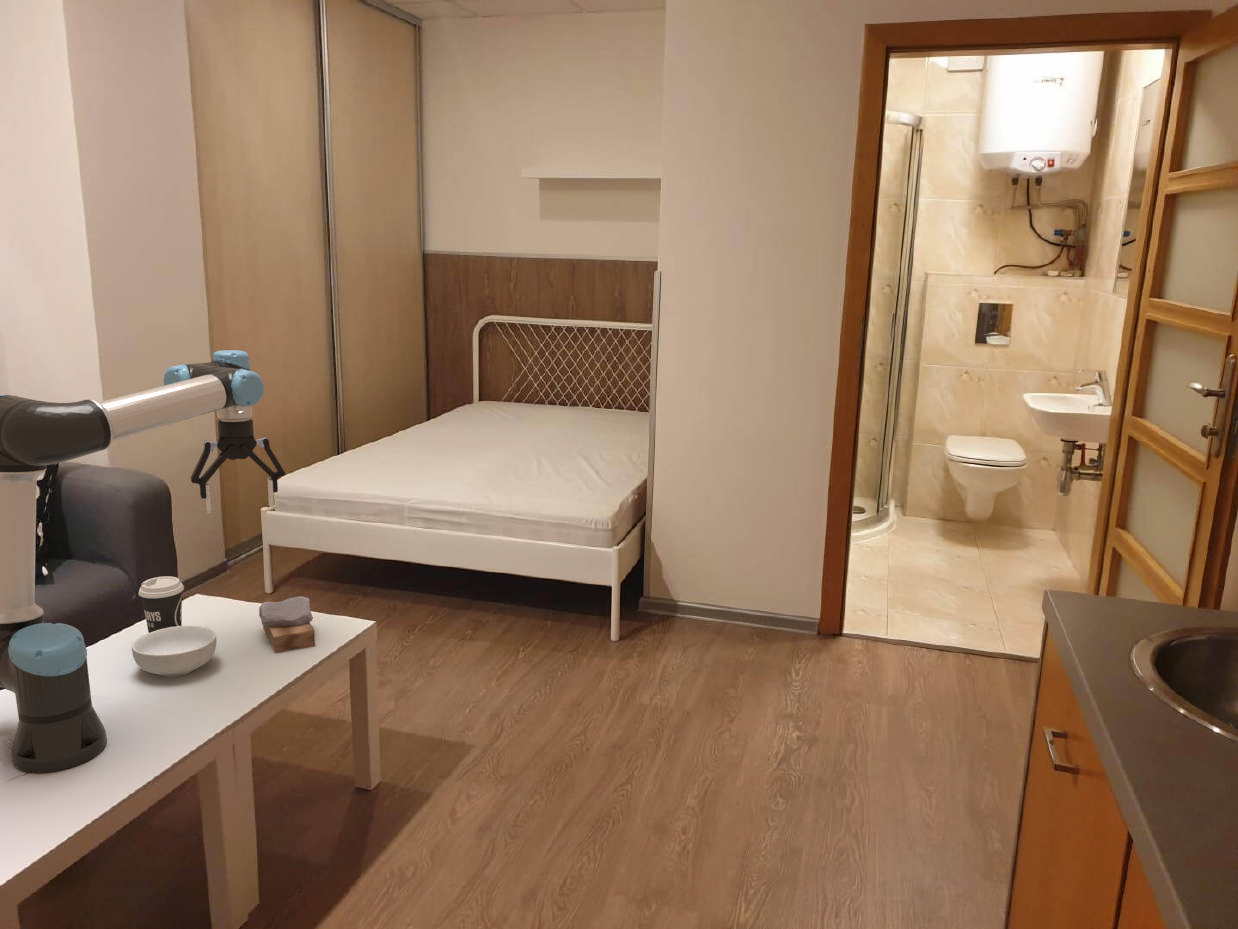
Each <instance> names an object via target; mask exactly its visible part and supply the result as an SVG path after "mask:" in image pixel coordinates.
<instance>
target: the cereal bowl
mask: <svg viewBox="0 0 1238 929" xmlns="http://www.w3.org/2000/svg"><path fill="white" fill-rule="evenodd" d="M216 649H217V634H216V632H215V631H214V630H213V629H211V628H209V627H206V626H201V625H199V626H198V625H182V626H176V627H169V628H164V629H160V630H156V631H153V632H150V633H149V632H148V633H146V634H143V635H142V636H139V637H138V638H137V639H135V640H134V641H133V643H132V644H131V653H132V657H133V660H134V662H135V664H136V665H137V666H138V667H139V668H140V669H141V670H143V671H144V672H145V671H146V672H147V673H150V674H153V675H154V674H156V675H160V676H161V677H167V678H170V677H171V678H172V677H179V676H183V675H187V674H190V673H191V672H193V671H194V670H196V669H197V668H200V667H202V666H203V665H205V664H206V663H207V662H209V661H210V659H211V658H212V657H213V656H214V654H215V652H216Z"/></svg>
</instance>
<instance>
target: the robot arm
mask: <svg viewBox="0 0 1238 929" xmlns="http://www.w3.org/2000/svg"><path fill="white" fill-rule="evenodd" d="M162 380H163V385H161V386H156V387H153V388H150V389H145V390H141V391H138V392H134V393H130V394H125V395H122V396H119V397H115V398H110V399H106V400H101V401H95V400H93V399H90V398H87V399H82V400H79V401H74V402H73V401H72V402H51V401H42V400H36V399H31V398H26V397H21V396H18V395H9V394H0V688H3V689H4V690H7V691H10V692H12V693H13V694H15V695H14V696H15V700H16V701H15V702H16V709H17V716H18V723H17V727H16V731H15V734H14V738H13V742H12V747H11V758H12V764H13V766H14V767H15V768H16V769H18V770H20V771H23V772H26V773H33V774H34V773H36V774H37V773H39V774H40V773H50V772H58V771H62V770H66V769H69V768H74V767H77V766H80V765H82V764H84V763H86V762H88V761H90V760H92V759H93V758H95V757H97V755H100V753H101V752H103V751H104V749H105V747H106V746H107V743H108V739H107V731H106V727H105V726H104V724H103V722H102V721H101V718H100V717H99V715H98V714H97V712H96V710H95V708H94V707H93V704H92V694H91V693H92V692H91V686H90V684H91V683H90V675H89V668H88V658H87V656H88V650H87V646H86V643H85V640H84V636H83V634H82V632H81V631H80V630H79V629H78V628H76V627H74V626H73V625H70V624H66V623H62V622H57V623H52V622H44V609H43V608H42V607H40V606H39V605H37V603H36V602H35V598H36V597H35V594H36V593H35V588H36V587H35V586H36V536H37V535H36V532H37V530H36V529H37V485H38V484H37V481H38V478H39V477H40V476H41V475H43V474H44V473H45V472H46V471H47V466H49V465H55V464H60V463H64V462H68V461H72V460H75V459H78V458H82V457H85V456H87V455H92V454H95V453H98V452H101V451H104V450H107V449H108V448H110V446H111V445H112V442H115V441H119V440H121V439H122V440H123V439H126V438H128V437H132V436H135V435H138V434H142V433H145V432H150V431H152V430H155V429H159V428H163V427H166V426H169V425H171V424H172V425H173V424H175V423H180V422H183V421H186V420H190V419H192V418H195V417H199V416H200V417H201V416H202V415H207V414H210V413H213V412H216V417H217V418H218V421H217V430H218V432H217V433H218V439H217V441H209V440H204V441H203V449H202V452H201V454H200V457H199V459H198V461H197V462H196V465H195V466H194V469H193V472H192V474H191V476H190V482H191V483H192V484H197V485H199V494H200V498H201V500H203V499H205V503H206V504H205V506H206V513H207V514H212V504H211V502H212V501H211V488H210V487H211V486H210V483H209V481H210V479H211V478H212V477H213V475H215V473H216V472H217V471H218V470H219V469H220V467H221V466H222V464H224V463H225V462H226V461H227V459H228V460H231V461H233V460H234V461H235V460H246V459H247V458H248V457H249V458H250V459H251V460H252V461H253V462H255V463H256V465H258V466H259V467H260V468H261V470H263V471H264V472H265V474H267V475H268V476H269V477H267V491H268V492H267V494H268V506H269V507H270V508H274V507H275V502H274V501H275V500H274V493H278V491H279V487H278V479H279V478H281V477H285V476H286V472H285V470H284V468H283V466H282V464H280V462H279V460H278V459H277V457H276V455H275V454H274V452H273V450H272V449H271V446H270V440H269V439H268V438H267V437H266V436H263V437H262V438H257V439H255V434H254V420H253V419H252V417H253V416H254V415H253V406H255V405H257V404H258V403H259V402H260V401H261V400H262V399H263V396H264V392H265V386H264V381H263V379H262V377H261V376H260V375H259V374H258V373H257V372H255V371H252V369H251V362H250V356H249V354H248V352H246V351H244V350H235V349H230V350H229V349H228V350H227V349H226V350H217V351H215V352H213V358H212V361H209V362H201V363H200V362H197V363H196V362H195V363H189V364H188V363H186V364H185V363H182V364H178V365H173V366H169V367H168V368H167V369H166V370H165V372H164V375H163V379H162ZM257 446H259V447H260V448H261V449H264V451H265V453H266V454H267V456H268V458H269V459H270V461H271V462H272V464H273V466H274V467H275V469H276V471H274V470H273V469H272V468H270V467H269V466H268V465H267V464H266V462H264V461H263V459H262V458H260V457H259V456H258V455H257V453H255V452H254V449H255V448H256V447H257ZM215 448H217V449H218V450H219V451H220V453H219V454H218V456H216V457H217V458H215V460H214V461H213V462H212V464H211V465H210V466H209V467H208V468H207V469H206V471H205V472H204V473H203V475H201V474H202V471H203V470H204V467H205V466H206V463H207V461H208V459H209V456H210V454H211V452H213V451H214V450H215ZM200 475H201V477H200Z"/></svg>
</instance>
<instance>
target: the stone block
mask: <svg viewBox="0 0 1238 929" xmlns="http://www.w3.org/2000/svg"><path fill="white" fill-rule="evenodd" d="M258 609H259V610H258V614H259V615H258V616H259V618H260V621H261V625H262V627H263V626H293V625H296V626H297V625H303V624H306V623H309V622H310V623H311V622H312V621H313V619H314V618H313V615H312V612H311V611H312V610H311V601H310V598H308V597H305V596H302V595H301V596H299V595H298V596H295V597H289V598H286V599H285V600H282V601H269V600H268V601H264V602H263V603H261V604H260V605H259V607H258Z"/></svg>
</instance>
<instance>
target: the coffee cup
mask: <svg viewBox="0 0 1238 929" xmlns="http://www.w3.org/2000/svg"><path fill="white" fill-rule="evenodd" d="M184 590H185V586H184V584H183V583H182V582H181V581H180V579H179V578H178V577H175V576H170V575H169V576H158V577H153V578H149V579H146V580H145V581H143V582H142V583H141V586H140V587H139V590H138V596H139V597H140V598H141V602H142V607H143V611H144V612H143V613H144V616H145V621H146V625H147V631H148V633H150V632H153V631H156V630H160V629H164V628H169V627H176V626H183V625H182V617H183V616H182V614H183V613H182V612H183V611H182V607H183V606H182V605H183V591H184Z"/></svg>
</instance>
